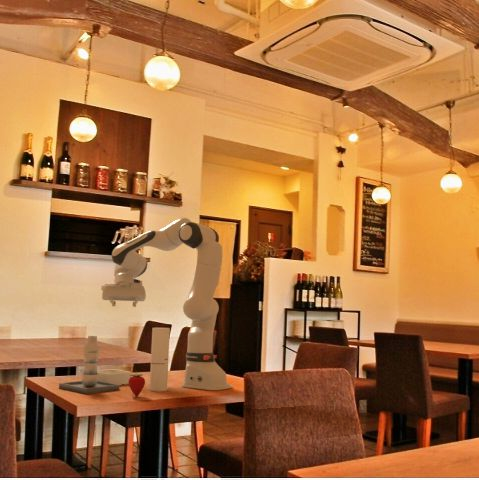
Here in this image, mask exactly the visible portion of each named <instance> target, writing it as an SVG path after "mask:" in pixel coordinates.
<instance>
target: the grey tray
mask: <svg viewBox="0 0 479 480" xmlns="http://www.w3.org/2000/svg"><path fill="white" fill-rule="evenodd" d="M120 386H121V385H118V384H113V383H108V382H102V381H98V383H97V385H95V386H91V387H88V386H84V385H83V384H82V380H77V381H68V382H67V381H66V382H59V383H58V389H59V390H60V389H61V390H65V391H71V392H76V393H79V394H84V395H88V394H89V395H90V394H91V395H92V394H97V393H105V392H113V391H119V390H120Z"/></svg>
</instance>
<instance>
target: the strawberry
mask: <svg viewBox="0 0 479 480" xmlns="http://www.w3.org/2000/svg"><path fill="white" fill-rule="evenodd" d="M135 371H136V373H134V374H131V375H130V376H131V377H130V379H129V384H128V387H129V389H130V390H131V392H132V393H133V395H134V396H135V397H138V396H139V395H140V393H142V390H143V389H144V388H145V386H146V385H145V384H146V379H145V378H144V377H143V376H144V374H142V373H141V374H140V373H138V371H137V370H135Z"/></svg>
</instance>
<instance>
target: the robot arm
mask: <svg viewBox="0 0 479 480" xmlns="http://www.w3.org/2000/svg"><path fill="white" fill-rule="evenodd" d="M219 241H220V236H219V234H218V232H217V230H215V229H214V228H212V227H209V226H206V225H205V224H201V223H196V222H193V221H191V219H189V218H187V217H180V218H178V219H176V220H174V221H173V222H171V223H169V224H168V225H167V226H165V227H162V228H159V229H157V230H148V231H146V232H144V233H142V234H139V235H138V236H137V237H135V238H132V239H131V240H129V241H125V242H123V243H121V244H118V245H117V246H115V247H113V249H112V251H111V258H112V262H113V263H114V264H115V265H114V270H113V271H114V273H113V275H114V279H113V280H114V282H113V283H110V284H109V283H105V284H103V285H101V290H102V293H101V294H102V295H101V299H102V300H103V301H109V303H110V304H111V306H112V307H116V304H117V303H116V301H117V302H118V301H120V302H121V301H122V302H123V301H124V302H132V307H133V308H136V307H137V304H138V303H139V302H145V301H146V297H147V295H146V288H145V287H144V285H143V280H140V279H137V278H138V277H141V276H142V275H143V274H145V273H146V271H147V268H148V259H147V258H145V257H144V256H143V255H142V254H140V253H138V252H137V251H138V250H140V249H142V248H144V247H151V248H154V249H157V250H161V251H165V252H171V251H174V250H176V249H177V248H179V247H180V246H181V245H183V244H184V245H186V246H187V247H189V248H191V249H196V250H197V253H198V254H197V256H198V257H197V260H196V266H195V271H194V277H193V278H194V279H193V281H192V284H191V287H190V289H189V293H188V295H187V298H186V300H185V301H184V303H183V306H182V308H183V313H184V315H185V317H186V318H188V319H190V320H191V325H190V329H189V331H188V333H187V350H186V353H185V361H186V363H185V364H186V365H185V371H184V375H183V381H182V384H181V385H182V387H183V388H189V389H198V390H207V391H221V390H228V389H232V388H233V385H232V384H229V383H228V381H227V379H228V378H227V377H228V376H227V373H226V371H224V370H223V368H222V367H220V366H219V365H218V363H217V362H216V359H217V358H218V357H217V356H218V355H217V354H214V352H213V345H214V344H213V343H214V331H215V326H216V321H217V315H218V313H219V311H220V309H219V308H220V307H219V304H218V302H217V300H216V299H214V298H213V297H214V295H215V292H216V289H217V288H218V286H219V282H220V276H221V270H222V263H223V246H222V245H221V243H220V242H219Z"/></svg>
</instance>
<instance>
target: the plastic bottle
mask: <svg viewBox="0 0 479 480" xmlns="http://www.w3.org/2000/svg"><path fill="white" fill-rule="evenodd" d="M86 341H87V342H86V344H85V346H84V347H83V369H82V370H83V371H82V376H81V381H82V384H83V385H84V386H88V387H91V386H95V385H97V383H98V375H97V370H98V363H99V357H100V356H99V355H100V346H99V345H98V343H97V341H98V336H97V335H88V336H87V340H86Z"/></svg>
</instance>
